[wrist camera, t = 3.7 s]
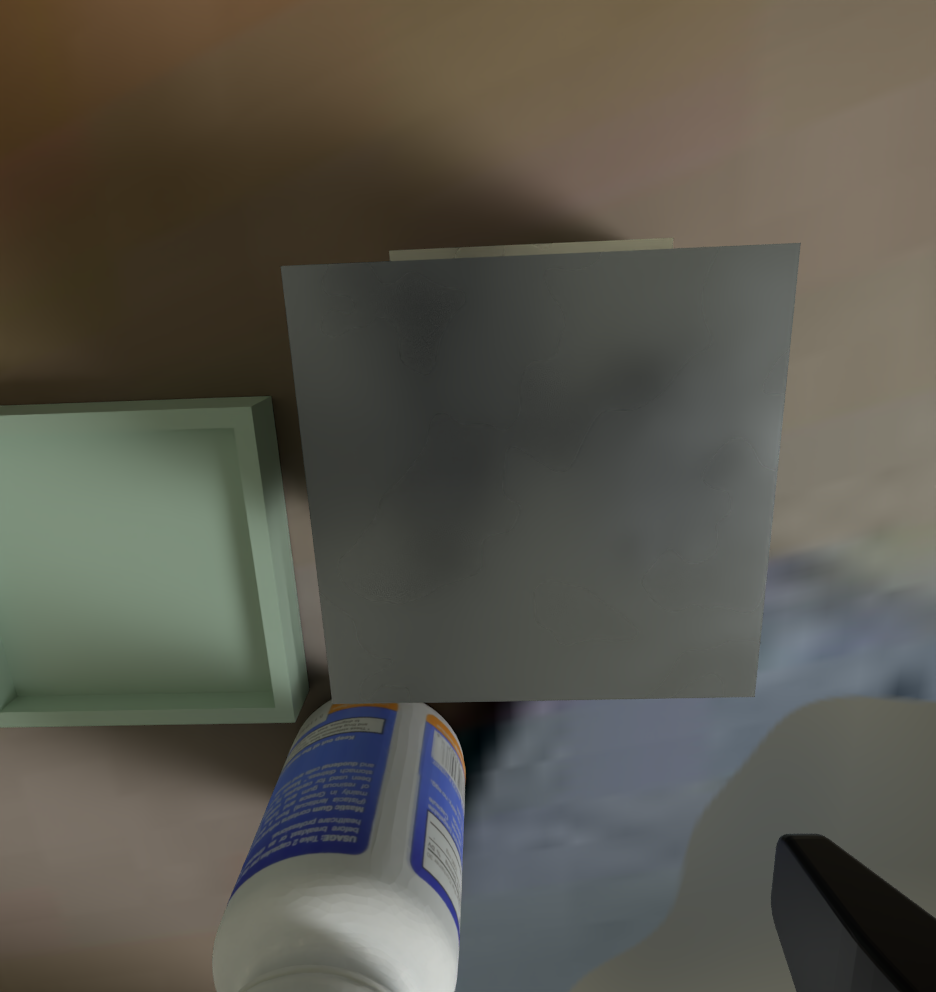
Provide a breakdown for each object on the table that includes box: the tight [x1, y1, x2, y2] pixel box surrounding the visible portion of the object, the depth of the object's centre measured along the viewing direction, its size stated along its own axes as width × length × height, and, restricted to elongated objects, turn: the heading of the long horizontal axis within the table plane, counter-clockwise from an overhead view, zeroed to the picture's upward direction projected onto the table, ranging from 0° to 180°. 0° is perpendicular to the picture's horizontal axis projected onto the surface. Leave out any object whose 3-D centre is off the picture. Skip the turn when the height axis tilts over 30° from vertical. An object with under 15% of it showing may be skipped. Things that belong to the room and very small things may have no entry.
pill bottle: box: [212, 700, 465, 992], centre depth 17 cm, size 5×5×10 cm
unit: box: [281, 238, 801, 704], centre depth 14 cm, size 8×7×8 cm
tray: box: [0, 396, 309, 727], centre depth 19 cm, size 9×9×2 cm
